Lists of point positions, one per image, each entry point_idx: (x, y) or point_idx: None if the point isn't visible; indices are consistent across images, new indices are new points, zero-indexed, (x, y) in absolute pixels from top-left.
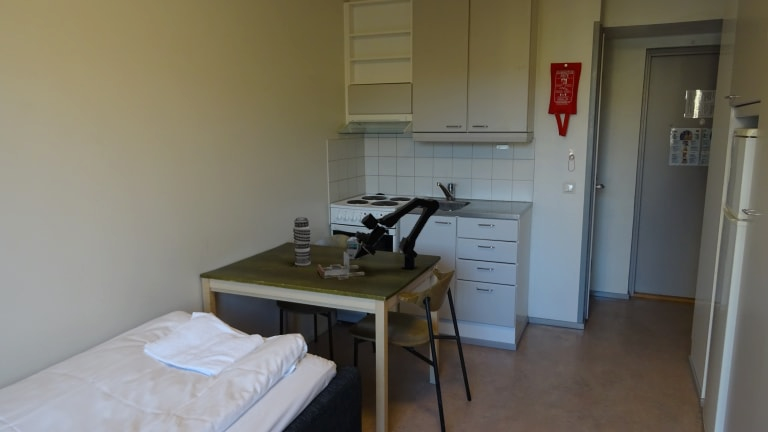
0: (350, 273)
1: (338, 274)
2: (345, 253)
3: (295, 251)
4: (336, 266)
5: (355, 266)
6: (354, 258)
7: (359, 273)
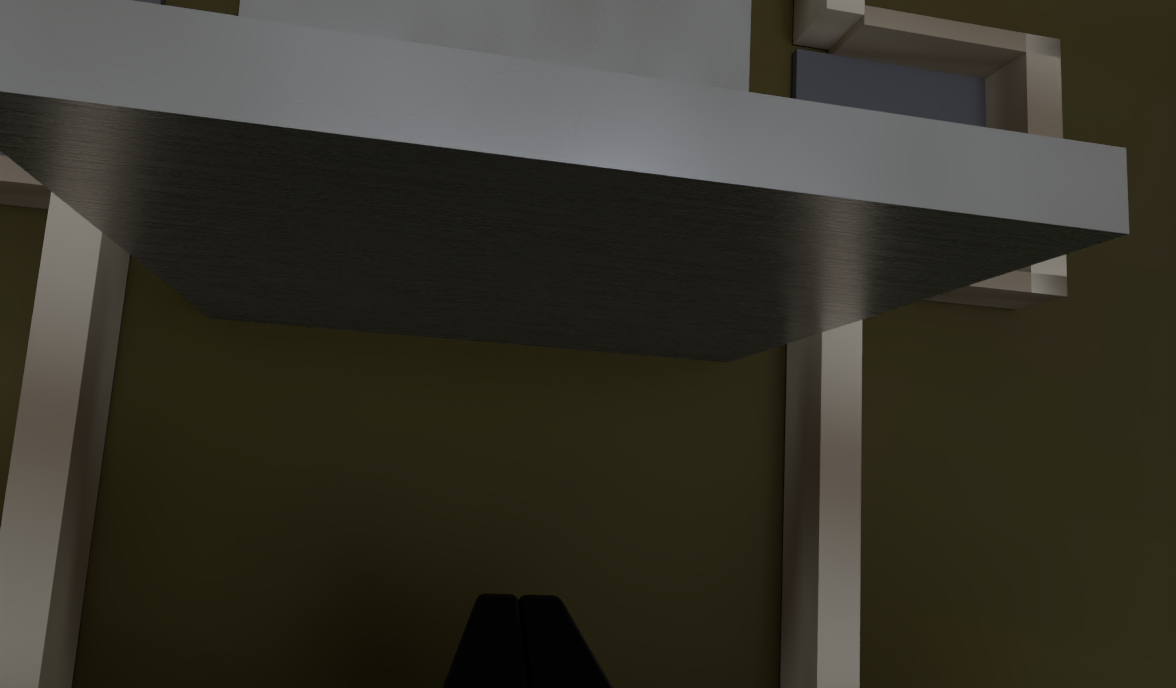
0: (38, 292)
1: (281, 18)
2: (701, 97)
3: None
4: None
5: (809, 673)
6: (483, 598)
7: (2, 594)
